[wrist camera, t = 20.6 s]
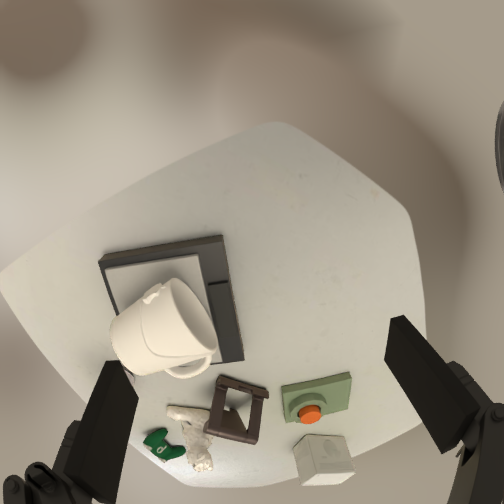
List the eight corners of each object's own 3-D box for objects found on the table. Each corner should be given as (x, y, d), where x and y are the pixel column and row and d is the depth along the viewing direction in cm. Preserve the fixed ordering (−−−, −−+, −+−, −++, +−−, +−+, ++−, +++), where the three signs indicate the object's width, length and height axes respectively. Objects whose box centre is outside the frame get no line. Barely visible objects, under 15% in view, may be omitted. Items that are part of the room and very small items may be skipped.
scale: (222, 234, 36) (222, 243, 33) (243, 349, 43) (245, 364, 40) (104, 254, 36) (95, 263, 33) (143, 360, 42) (138, 374, 39)
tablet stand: (268, 388, 46) (275, 426, 38) (246, 413, 48) (250, 450, 41) (221, 373, 44) (221, 412, 36) (201, 400, 46) (200, 438, 38)
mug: (117, 299, 35) (96, 335, 27) (176, 265, 34) (163, 299, 26) (171, 363, 39) (163, 405, 31) (228, 338, 38) (230, 380, 30)
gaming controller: (157, 421, 50) (136, 438, 47) (166, 429, 48) (145, 448, 44) (178, 443, 54) (160, 460, 50) (188, 451, 51) (170, 469, 47)
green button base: (348, 371, 47) (355, 385, 43) (345, 402, 50) (350, 415, 47) (281, 386, 46) (284, 401, 43) (284, 416, 50) (287, 430, 46)
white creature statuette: (164, 404, 46) (155, 458, 35) (208, 396, 46) (207, 453, 35) (185, 432, 50) (182, 482, 38) (227, 426, 49) (229, 477, 38)
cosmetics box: (291, 448, 54) (299, 486, 45) (306, 433, 53) (317, 473, 43) (329, 450, 57) (340, 485, 47) (344, 436, 55) (358, 471, 45)
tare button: (319, 402, 45) (321, 409, 43) (318, 414, 46) (320, 421, 44) (298, 406, 44) (300, 414, 43) (298, 418, 46) (300, 425, 44)
